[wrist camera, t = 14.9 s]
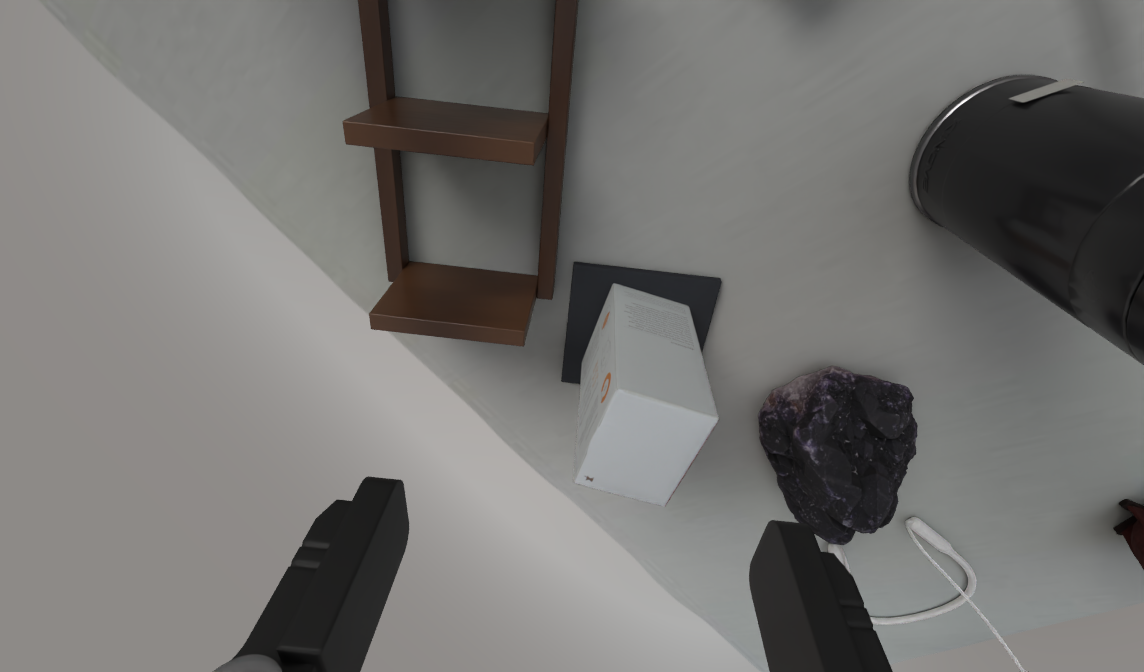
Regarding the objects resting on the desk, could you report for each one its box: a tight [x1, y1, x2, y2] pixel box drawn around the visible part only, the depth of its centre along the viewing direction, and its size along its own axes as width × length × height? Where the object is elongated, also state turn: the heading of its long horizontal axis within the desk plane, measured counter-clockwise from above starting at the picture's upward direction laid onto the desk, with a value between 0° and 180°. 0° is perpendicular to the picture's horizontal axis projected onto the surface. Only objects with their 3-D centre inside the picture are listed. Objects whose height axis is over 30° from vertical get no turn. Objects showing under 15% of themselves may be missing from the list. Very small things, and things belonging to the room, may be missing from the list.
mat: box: [561, 262, 721, 384], centre depth 42 cm, size 11×11×1 cm
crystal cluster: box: [758, 366, 917, 545], centre depth 42 cm, size 13×14×10 cm
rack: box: [343, 0, 579, 346], centre depth 31 cm, size 12×24×8 cm, turn 175°
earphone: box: [828, 517, 1029, 672], centre depth 54 cm, size 14×17×18 cm
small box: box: [573, 283, 719, 506], centre depth 36 cm, size 8×6×13 cm
